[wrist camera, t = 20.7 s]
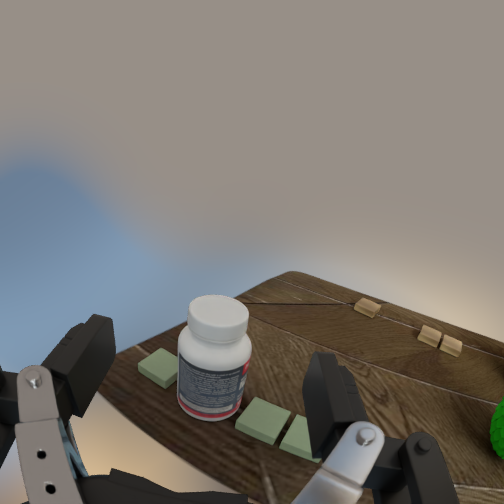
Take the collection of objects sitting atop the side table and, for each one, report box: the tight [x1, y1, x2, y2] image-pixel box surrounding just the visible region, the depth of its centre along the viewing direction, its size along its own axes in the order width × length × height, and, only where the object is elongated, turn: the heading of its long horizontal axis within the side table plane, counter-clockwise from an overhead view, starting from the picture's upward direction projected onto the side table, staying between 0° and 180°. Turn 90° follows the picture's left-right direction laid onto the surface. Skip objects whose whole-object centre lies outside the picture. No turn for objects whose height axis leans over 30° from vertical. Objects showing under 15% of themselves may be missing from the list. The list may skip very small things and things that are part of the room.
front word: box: [138, 348, 321, 463], centre depth 21 cm, size 3×17×1 cm, turn 63°
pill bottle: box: [177, 295, 252, 421], centre depth 21 cm, size 5×5×9 cm
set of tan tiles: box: [354, 298, 462, 357], centre depth 37 cm, size 3×18×1 cm, turn 48°
